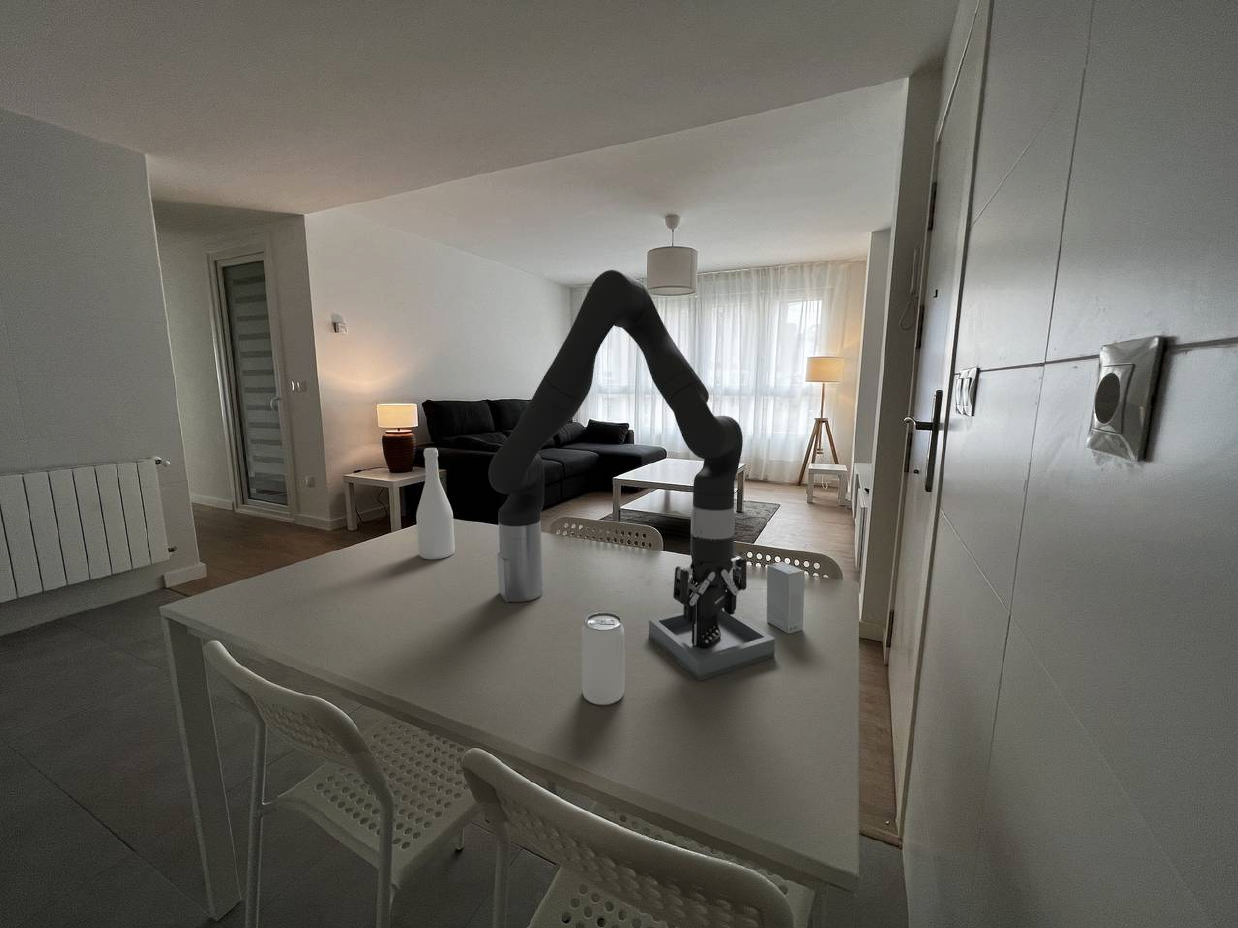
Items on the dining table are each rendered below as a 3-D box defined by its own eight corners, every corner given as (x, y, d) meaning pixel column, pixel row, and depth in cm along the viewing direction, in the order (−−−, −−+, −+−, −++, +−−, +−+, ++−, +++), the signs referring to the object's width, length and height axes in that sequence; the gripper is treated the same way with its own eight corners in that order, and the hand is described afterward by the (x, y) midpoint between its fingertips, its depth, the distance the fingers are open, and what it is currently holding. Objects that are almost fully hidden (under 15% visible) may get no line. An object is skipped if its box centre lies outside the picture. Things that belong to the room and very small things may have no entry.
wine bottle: (421, 550, 144) (414, 447, 139) (456, 547, 146) (450, 446, 141) (416, 561, 135) (409, 451, 130) (453, 558, 137) (447, 450, 132)
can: (582, 682, 80) (581, 611, 78) (622, 680, 81) (622, 610, 79) (582, 708, 74) (581, 631, 72) (626, 705, 74) (626, 630, 72)
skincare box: (803, 630, 97) (807, 570, 95) (786, 635, 95) (789, 574, 93) (780, 616, 102) (783, 560, 100) (763, 621, 100) (766, 563, 99)
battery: (709, 652, 87) (711, 590, 85) (690, 645, 89) (691, 585, 87) (727, 637, 92) (729, 578, 90) (708, 630, 95) (710, 573, 93)
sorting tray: (698, 681, 80) (699, 661, 80) (648, 636, 94) (649, 619, 94) (774, 657, 87) (775, 638, 87) (717, 619, 101) (717, 603, 101)
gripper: (731, 520, 94) (728, 602, 96) (666, 530, 87) (665, 617, 90) (758, 531, 87) (754, 618, 90) (690, 542, 81) (688, 636, 83)
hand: (709, 617), depth 90 cm, fingers open, 8 cm apart
